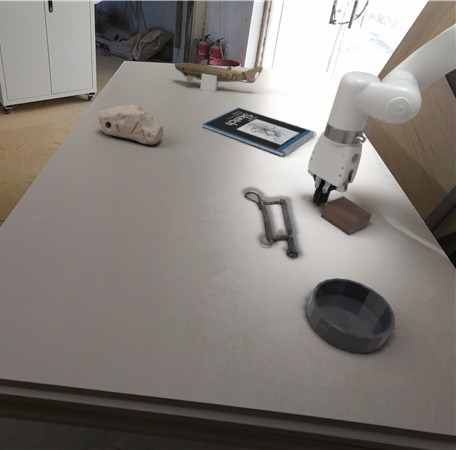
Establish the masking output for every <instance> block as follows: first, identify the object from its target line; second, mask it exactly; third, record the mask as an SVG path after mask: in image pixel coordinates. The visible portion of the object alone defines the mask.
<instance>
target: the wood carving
mask: <svg viewBox="0 0 456 450" xmlns="http://www.w3.org/2000/svg"><path fill="white" fill-rule="evenodd" d="M208 62H209V59H202V60H201V61H199V63H193V62H175V63H174V67H175V70H177V71H178V72H179V73H180V74H181V75H182V76H183V77H184V78H185V79H186V81H187V82H188V83H189V84H192V83H194V82H197V81H199V80H200V88H199V89H200V90H203V91H207V92H208V91H209V92H216V91H217V89H218V88H219V84H220V83H234V82H239V83H245V84H254V83H255V82H256V80H257V79H258V78H259V76H260V75H261V73H262V71H263V69H264V67H263V65H258V66H254V67H252V68H250V69H248V70H244V71H241V70H234V69H233V68H232V66H228V67H226V68H225V67H218V66H212V65H209V64H208ZM257 73H258V74H257ZM256 74H257V76H256ZM219 82H220V83H219Z"/></svg>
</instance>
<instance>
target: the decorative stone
mask: <svg viewBox="0 0 456 450" xmlns="http://www.w3.org/2000/svg"><path fill="white" fill-rule="evenodd" d="M153 120H154V115H151V114H150V113H149V112H146V110H145V109H144V108H143V107H142V106H141V105H139V104H124V105H122V104H119V105H115V106H111V107H109V108H106V109H103V110H100V111H99V113H98V121H99V125H100V127H101V131H102V132H103V133H104V134H105V135H108V136H112V137H113V136H114V137H119V138H123V139H128V140H132V141H136V142H138V143H140V144H144V145H150V146H152V145H156V144H158V143H159V142H160V141H161V140H162V139H163V137H164V133H165V132H164V126H163V125H161V124H160V123H158V122H156V121H153Z"/></svg>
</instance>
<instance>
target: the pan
mask: <svg viewBox="0 0 456 450" xmlns="http://www.w3.org/2000/svg"><path fill="white" fill-rule="evenodd" d="M307 317H308V318H307ZM395 317H396V316H395V313H394V311H393V308H392V306H391V305H390V304H389V302H388V301H387V300H386V299H385V298H384V296H382V295H381V294H380V293H378V292H377V291H376V290H375V289H374V288H371V287H369V286H367V285H365V284H363V283H361V282H359V281H355V280H351V279H348V278H339V277H335V278H328V279H324V280H322V281H320V282H319V283H318V284H317V285H316V286H315V288H313V290H312V293H311V295H310V298H309V300H308V302H307V307H306V318H307V321H308V324H309V325H310V327H311V329H313V331H314V332H315V333H316V334H317V336H319V338H321V339H322V340H323V341H324V342H326V343H327V344H329V345H331V346H333V347H335V348H336V349H338V350H341V351H345V352H348V353H353V354H368V353H372V352H376V351H377V350H379V349H380V348H381V347H383V345H384V344H385V342H386V340H387V339H388V338H389V336H390V334H391V332H392V331H393V329H394V327H395V325H396V318H395Z"/></svg>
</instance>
